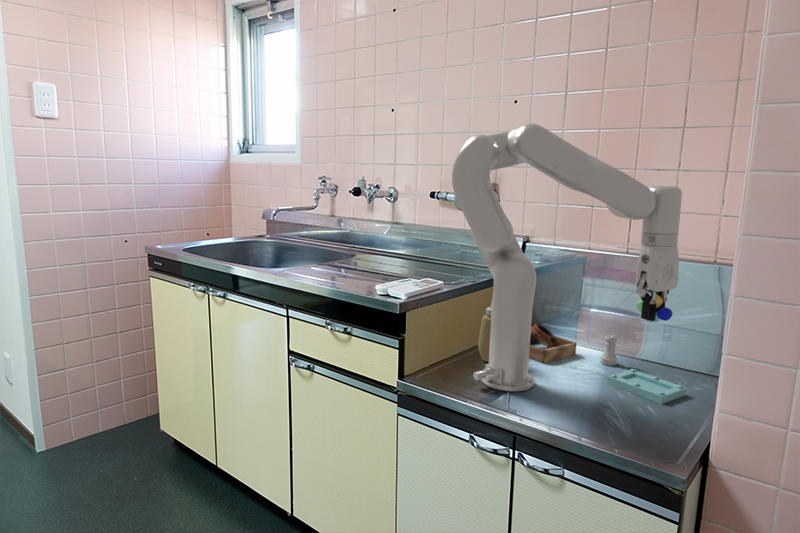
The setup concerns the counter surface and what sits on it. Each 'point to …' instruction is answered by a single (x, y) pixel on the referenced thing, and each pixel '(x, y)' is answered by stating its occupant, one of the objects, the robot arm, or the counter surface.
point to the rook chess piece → (609, 351)
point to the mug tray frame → (552, 350)
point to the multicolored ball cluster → (662, 312)
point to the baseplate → (647, 386)
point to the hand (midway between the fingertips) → (652, 317)
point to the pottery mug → (542, 335)
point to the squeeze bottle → (485, 335)
